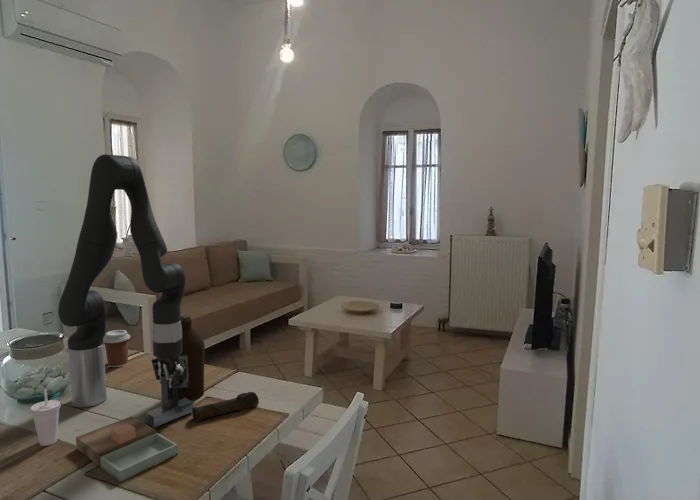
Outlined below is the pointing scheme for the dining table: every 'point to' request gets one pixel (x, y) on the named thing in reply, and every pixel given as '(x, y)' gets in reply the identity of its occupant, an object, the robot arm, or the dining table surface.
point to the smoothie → (46, 420)
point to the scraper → (168, 407)
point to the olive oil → (191, 361)
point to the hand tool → (226, 406)
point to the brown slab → (109, 439)
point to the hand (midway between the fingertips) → (169, 397)
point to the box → (138, 456)
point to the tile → (123, 433)
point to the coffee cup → (116, 347)
